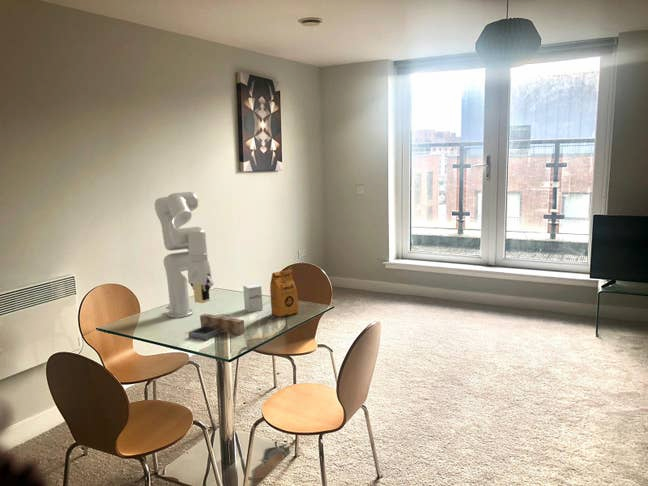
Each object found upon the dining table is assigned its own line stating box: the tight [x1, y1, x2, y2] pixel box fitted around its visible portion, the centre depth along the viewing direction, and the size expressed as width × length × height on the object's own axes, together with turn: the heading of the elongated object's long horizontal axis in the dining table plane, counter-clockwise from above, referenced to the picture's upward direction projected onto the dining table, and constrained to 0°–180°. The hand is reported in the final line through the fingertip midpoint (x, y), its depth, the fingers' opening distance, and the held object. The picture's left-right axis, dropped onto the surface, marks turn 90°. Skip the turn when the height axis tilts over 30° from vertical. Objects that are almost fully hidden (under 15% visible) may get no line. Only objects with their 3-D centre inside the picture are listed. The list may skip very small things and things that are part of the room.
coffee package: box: [269, 269, 299, 317], centre depth 259 cm, size 10×12×22 cm
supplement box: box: [243, 283, 264, 313], centre depth 271 cm, size 7×7×13 cm
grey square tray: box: [187, 326, 222, 342], centre depth 234 cm, size 10×10×2 cm
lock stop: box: [192, 284, 211, 304], centre depth 231 cm, size 4×4×9 cm
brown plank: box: [199, 313, 246, 336], centre depth 240 cm, size 24×3×6 cm, turn 58°
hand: (202, 298), depth 232 cm, fingers closed on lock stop, 4 cm apart
